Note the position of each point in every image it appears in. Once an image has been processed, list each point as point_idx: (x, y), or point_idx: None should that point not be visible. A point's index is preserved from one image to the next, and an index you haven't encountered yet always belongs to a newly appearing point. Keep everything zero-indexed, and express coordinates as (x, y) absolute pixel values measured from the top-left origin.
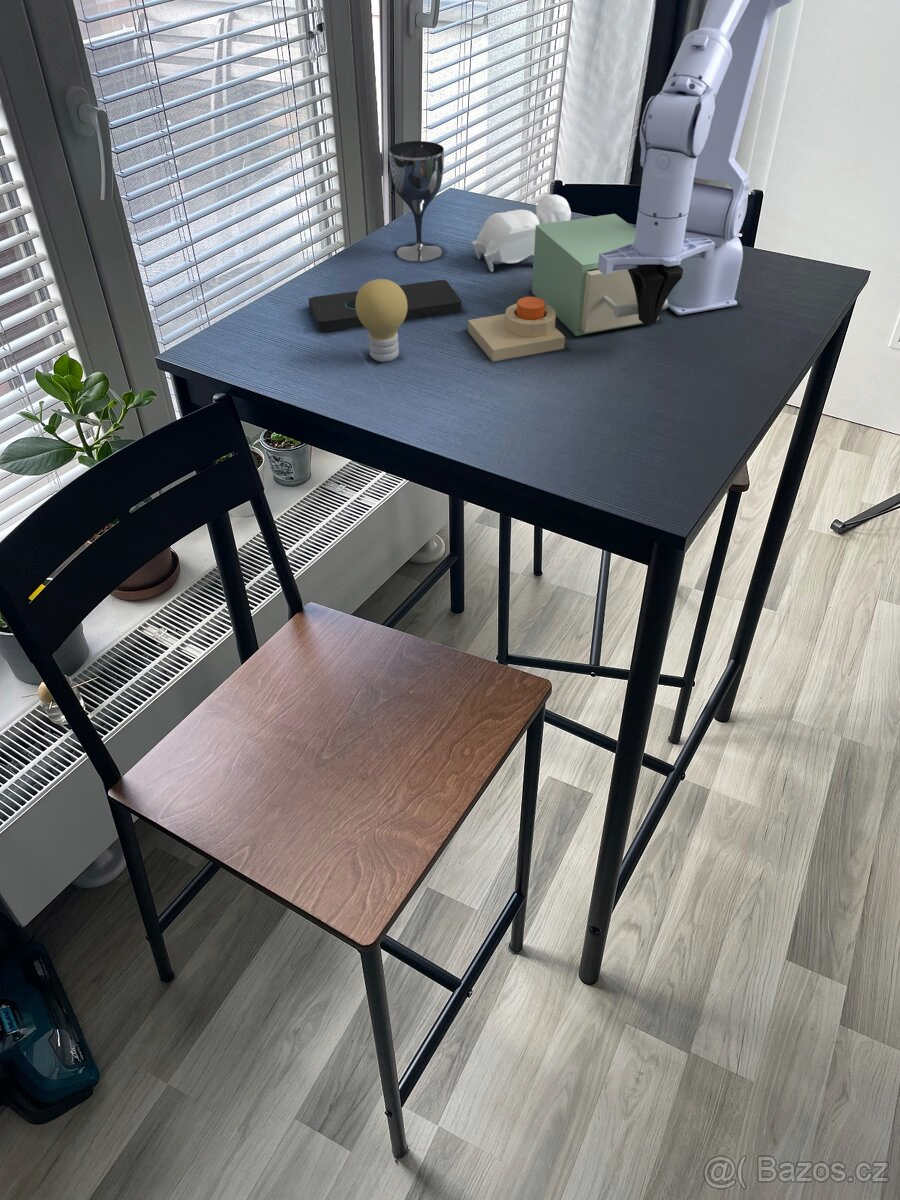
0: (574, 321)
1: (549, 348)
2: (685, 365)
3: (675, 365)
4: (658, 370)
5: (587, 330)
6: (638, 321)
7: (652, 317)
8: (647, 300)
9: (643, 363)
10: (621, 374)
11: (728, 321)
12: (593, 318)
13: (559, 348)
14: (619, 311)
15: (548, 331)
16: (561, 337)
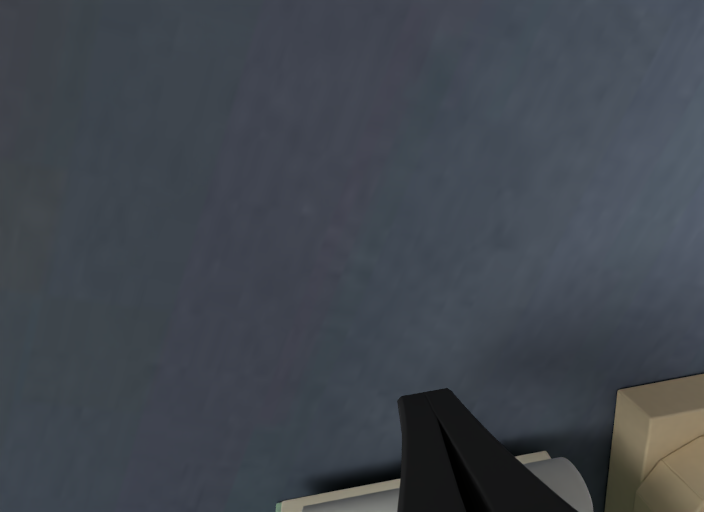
0: None
1: (674, 387)
2: (272, 229)
3: (310, 235)
4: (387, 211)
5: (541, 458)
6: (356, 493)
7: (440, 414)
8: (569, 504)
9: (419, 269)
10: (528, 207)
11: (29, 489)
12: None
13: (636, 389)
14: (581, 479)
15: (698, 448)
16: (663, 417)
